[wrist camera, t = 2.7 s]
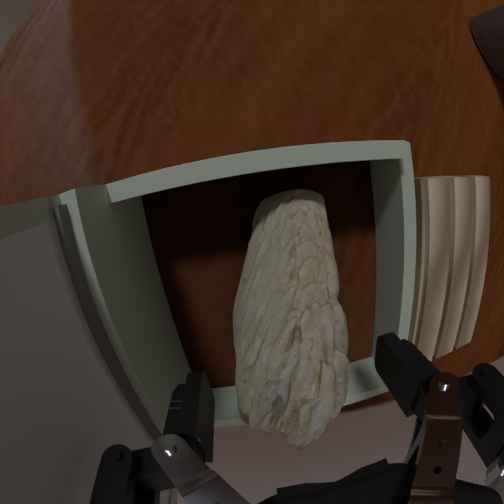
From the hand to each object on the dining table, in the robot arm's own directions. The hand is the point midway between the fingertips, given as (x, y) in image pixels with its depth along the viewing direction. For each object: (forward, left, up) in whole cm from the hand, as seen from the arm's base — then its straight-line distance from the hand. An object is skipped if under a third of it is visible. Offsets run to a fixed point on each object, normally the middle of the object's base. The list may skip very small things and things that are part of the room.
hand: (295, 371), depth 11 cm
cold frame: (0, 0, -9) cm, 9 cm away
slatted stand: (-16, +1, -9) cm, 18 cm away
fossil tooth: (-1, 0, -9) cm, 9 cm away
